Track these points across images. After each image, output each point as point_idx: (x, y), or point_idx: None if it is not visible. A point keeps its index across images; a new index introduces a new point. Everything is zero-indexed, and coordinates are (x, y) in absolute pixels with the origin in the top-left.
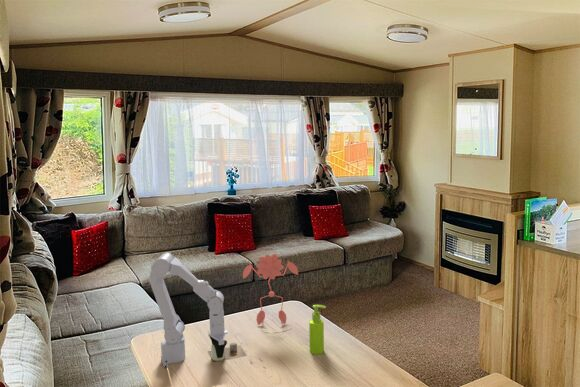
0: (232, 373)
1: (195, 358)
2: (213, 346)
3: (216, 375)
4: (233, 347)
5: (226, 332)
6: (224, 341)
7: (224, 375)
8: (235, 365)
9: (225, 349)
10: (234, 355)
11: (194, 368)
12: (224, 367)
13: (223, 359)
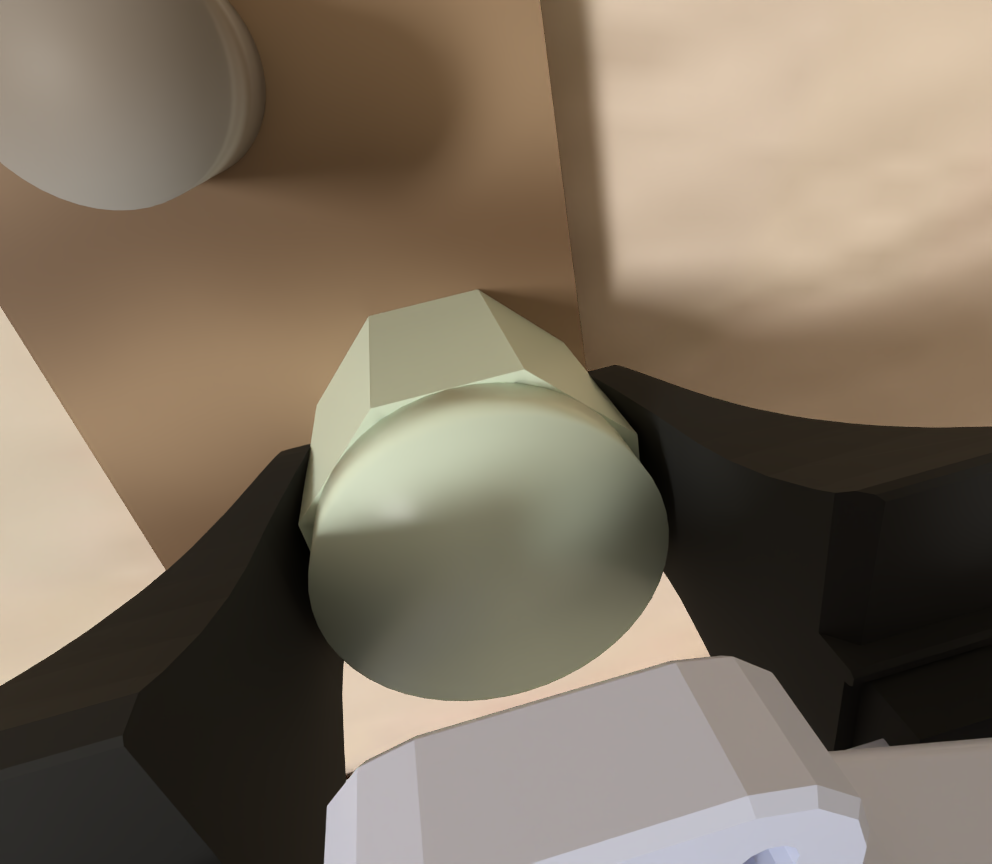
0: (974, 152)
1: (350, 692)
2: (509, 663)
3: (896, 399)
4: (241, 74)
5: (856, 825)
6: (967, 553)
7: (957, 288)
8: (741, 72)
9: (79, 292)
10: (416, 66)
11: (615, 656)
12: (732, 291)
13: (554, 326)
